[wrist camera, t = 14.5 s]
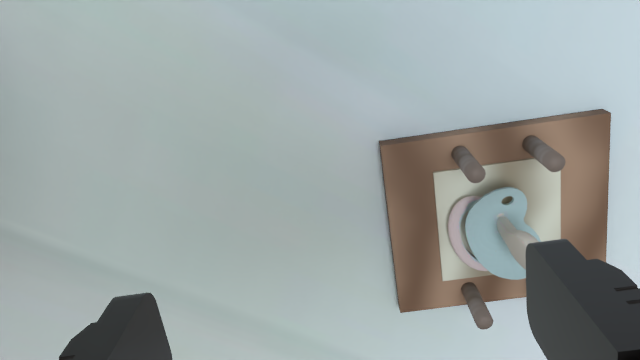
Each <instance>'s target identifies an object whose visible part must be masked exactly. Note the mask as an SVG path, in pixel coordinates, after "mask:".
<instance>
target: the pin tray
mask: <svg viewBox="0 0 640 360" xmlns="http://www.w3.org/2000/svg"><path fill="white" fill-rule="evenodd" d="M610 121H611V113H610V112H608V111H606V110H604V109H599V110H592V111H585V112H578V113H571V114H564V115H557V116H550V117H543V118H537V119H530V120H523V121H516V122H509V123H502V124H495V125H488V126H481V127H474V128H468V129H461V130H454V131H447V132H440V133H433V134H426V135H419V136H412V137H405V138H398V139H392V140H385V141H379V145H380V153H381V162H382V170H383V178H384V187H385V195H386V203H387V212H388V220H389V228H390V237H391V245H392V253H393V262H394V270H395V279H396V287H397V295H398V304H399V308H400V313H402V312H410V311H418V310H426V309H434V308H442V307H450V306H458V305H466V304H467V305H468V307H469V309H470V312H471V314H472V316H473V318H474V321H475V323H476V325H477V327H478V328H480V329H488V328H489V327H491V326H492V324H493V319H492V317H491V315H490V313H489V311H488V309H487V307H486V305H485V303H484V302H490V301H498V300H505V299H513V298H521V297H526V278H524V279H519V280H511V279H506V278H501V277H498V276H496V275H494V274H492V273H491V272H489V271H480V270H476V269H473V268H471V267H469V266H468V265H466V264H465V263H464V262H463V261H462V260H461V259H460V258H459V257H458V256H457V254H456V253H455V251H454V249H453V247H452V245H451V242H450V238H449V234H448V221H449V215H450V213H451V211H452V208H453V207H454V206H455V205H456V203H457V202H458V201H460V200H461V199H463V198H465V197H469V196H479V197H482V196H484V195H485V194H487V193H489V192H491V191H493V190H496V189H499V188H504V187H514V188H517V189H519V190H520V191H522V192H523V193H524V195H525V197H526V199H527V211H526V214H525V217H524V222H525V224H527V225H528V226H530V227H531V228H532V229H533V230H534V231H535V232H536V233H537V235H538V236H539V238H540V240H541V242H543V241H551V240H558V239H567V240H568V241H569V242H570V243H571V244H572V245H573V246H574V247H575V248H576V249H577V250H578V251H579V252H580V253H581V254H582V255H583V256H584V257H585V259H586V260H591V259H599V260H601V261H603V262H606V243H607V212H608V182H609V151H610ZM511 200H512V196H507V197H505V198H503V199H502V203H503V204H507V203H509V202H511ZM468 211H469V210H468ZM468 211H467V212H466V213H465V214H464V215H463V218H462V220H461V224H460V235H461V239H462V242H463V244H464V246H465V247H466V249H467V250H468V251H469V252H470V253H471V254H473V252H472V250H471V248H470V246H469V243H468V240H467V237H466V231H465V221H466V217H467V214H468ZM473 255H474V254H473Z"/></svg>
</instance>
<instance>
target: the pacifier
mask: <svg viewBox="0 0 640 360" xmlns="http://www.w3.org/2000/svg"><path fill="white" fill-rule="evenodd" d="M507 196H512V200H511V202H509V203H507V204H503V203H502V199H503V198H505V197H507ZM468 210H469V211H468ZM467 211H468V214H467V217H466V221H465V231H466V237H467V240H468V243H469V246H470V248H471V250H472V252H473V254H474V255H473V254H471V253H470V252H469V251H468V250H467V249H466V247H465V246H464V244H463V242H462V239H461V235H460V224H461V220H462V218H463V215H464V214H465V213H466V212H467ZM526 211H527V199H526V197H525V195H524V193H523V192H522V191H520V190H519V189H517V188H514V187H504V188H499V189H496V190H493V191H491V192H489V193H487V194H485V195H484V196H482V197H479V196H469V197H465V198H463V199H461V200H460V201H458V202H457V203H456V205H455V206H454V207H453V208H452V211H451V213H450V215H449V221H448V234H449V238H450V242H451V245H452V247H453V249H454V251H455V253H456V254H457V256H458V257H459V258H460V259H461V260H462V261H463V262H464V263H465V264H466V265H468V266H469V267H471V268H473V269H476V270H480V271H489V272H491V273H492V274H494V275H496V276H498V277H501V278H506V279H511V280H519V279H524V278H526V257H525V255H526V247H527V245H528V244H529V243H535V242H541V240H540V238H539V236H538V235H537V233H536V232H535V231H534V230H533V229H532V228H531V227H530V226H528V225H527V224H525V222H524V217H525V214H526Z"/></svg>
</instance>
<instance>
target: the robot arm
mask: <svg viewBox="0 0 640 360" xmlns="http://www.w3.org/2000/svg"><path fill="white" fill-rule="evenodd" d="M525 257H526V297H527V314H528V319H529V324H530V327H531V330H532V333H533V335H534V337H535V339H536V341H537V343H538V344H539V346H540V348H541V349H542V351H543V353H544V355H545V356H546V358H547V360H640V289H638V288H637V285H636V284H635V283H634V282H633V281H632V280H631V279H630V278H629V277H628V276H627V275H626V274H625V273H624V272H623V271H622V270H620V269H618V268H616V267H614V266H612V265H610V264H608V263H606V262H603V261H601V260H599V259H591V260H586V259H585V257H584V256H583V255H582V254H581V253H580V252H579V251H578V250H577V249H576V248H575V247H574V246H573V245H572V244H571V243H570V242H569V241H568V240H567V239H558V240H551V241H543V242H535V243H529V244H528V245H527V247H526V255H525ZM59 360H172V354H171V350H170V346H169V343H168V340H167V336H166V333H165V330H164V326H163V323H162V320H161V316H160V313H159V310H158V306H157V303H156V300H155V298H154V296H153V295H152V294H151V293H142V294H134V295H127V296H119V297H115V298H113V299H112V300H111V302H110V303H109V305H108V306H107V308H106V309H105V311H104V312H103V314H102V315H101V317H100V318H99V320H98V321H97V322H96V323H91V324H90V325H88V326H87V327H86V328H85V329H84V330H82V331H81V332H80V333H79V334H77V335H76V336H75V337H74V338H73V339H71V341H70V342H69V344H68V345H67V346H66V348H65V349H64V351H63V352H62V354H61V355H60V356H59Z"/></svg>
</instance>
